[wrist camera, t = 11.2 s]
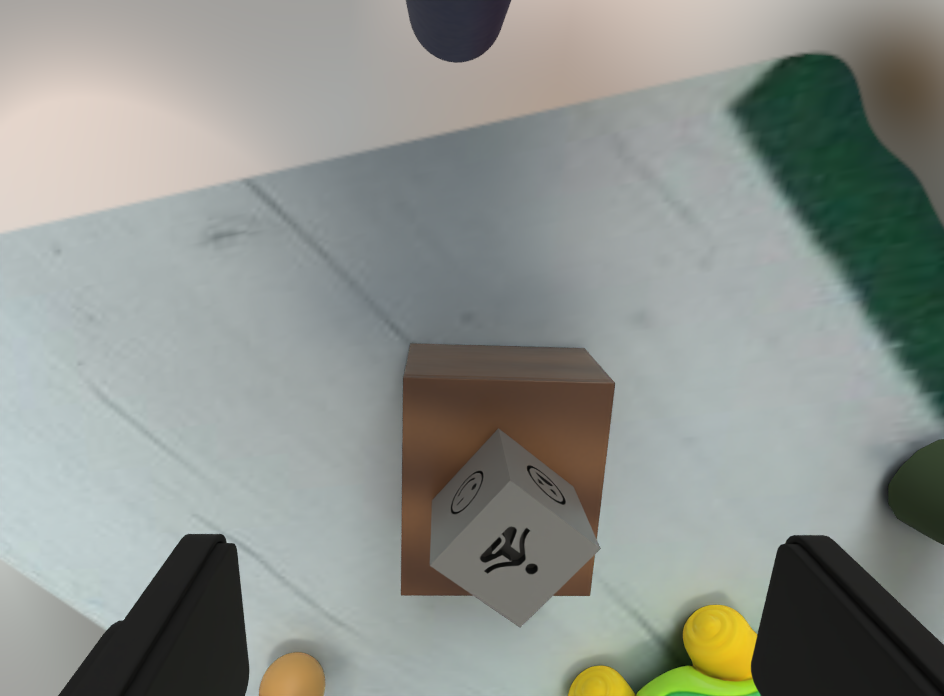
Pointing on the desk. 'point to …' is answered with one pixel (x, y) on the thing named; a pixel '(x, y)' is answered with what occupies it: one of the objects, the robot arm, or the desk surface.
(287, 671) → the figurine
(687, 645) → the turtle toy
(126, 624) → the robot arm
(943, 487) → the character mug
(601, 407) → the walnut block
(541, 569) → the dice cube
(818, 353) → the desk surface
